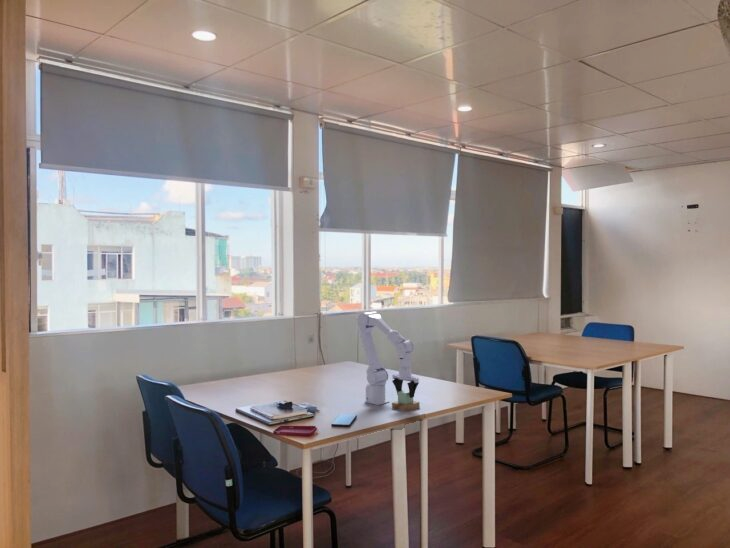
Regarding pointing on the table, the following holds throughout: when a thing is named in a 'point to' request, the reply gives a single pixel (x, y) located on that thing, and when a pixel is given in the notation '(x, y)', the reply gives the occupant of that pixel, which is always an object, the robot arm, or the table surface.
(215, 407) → the table surface
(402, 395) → the green cube
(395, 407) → the walnut block
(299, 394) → the table surface
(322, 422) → the table surface
